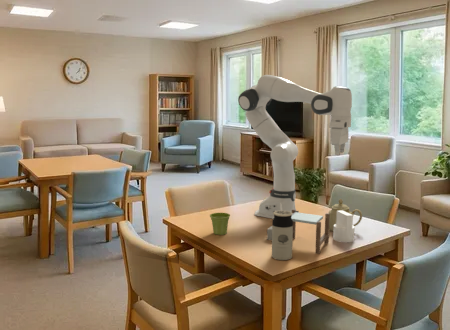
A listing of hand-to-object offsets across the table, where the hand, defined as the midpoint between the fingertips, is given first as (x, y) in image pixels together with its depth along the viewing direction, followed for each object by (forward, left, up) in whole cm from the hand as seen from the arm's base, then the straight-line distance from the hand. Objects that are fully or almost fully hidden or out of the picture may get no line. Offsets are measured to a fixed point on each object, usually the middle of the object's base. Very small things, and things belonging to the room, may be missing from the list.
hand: (339, 153), depth 204 cm
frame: (-8, -24, -37) cm, 45 cm away
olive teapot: (+2, +7, -37) cm, 38 cm away
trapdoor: (-10, -24, -27) cm, 37 cm away
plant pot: (-48, -25, -37) cm, 66 cm away
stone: (-23, -21, -37) cm, 49 cm away
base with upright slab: (+5, -8, -37) cm, 39 cm away
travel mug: (-12, -42, -37) cm, 57 cm away
